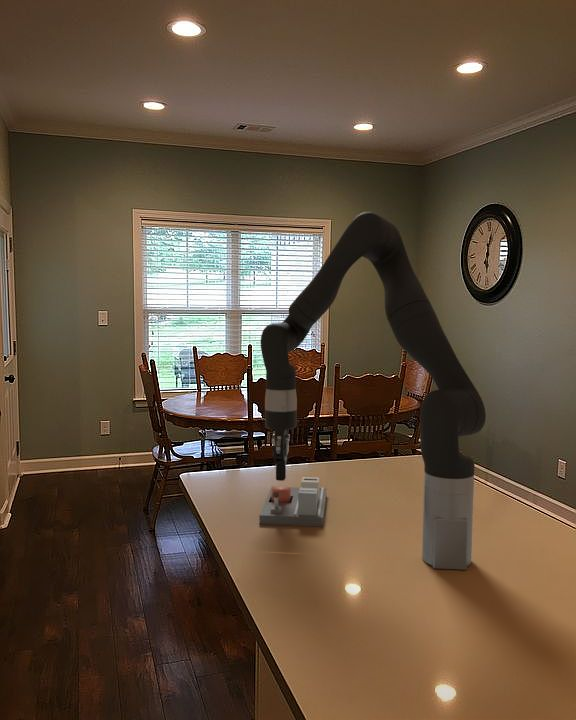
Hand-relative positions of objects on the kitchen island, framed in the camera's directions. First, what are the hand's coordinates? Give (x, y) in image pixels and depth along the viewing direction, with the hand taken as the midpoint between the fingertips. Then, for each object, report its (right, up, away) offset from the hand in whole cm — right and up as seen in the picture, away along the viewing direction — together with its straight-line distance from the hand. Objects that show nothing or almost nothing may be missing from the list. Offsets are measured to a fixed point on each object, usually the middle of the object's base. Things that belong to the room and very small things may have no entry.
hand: (280, 479), depth 153 cm
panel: (+3, -7, 0) cm, 8 cm away
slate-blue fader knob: (+6, -6, -9) cm, 12 cm away
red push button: (0, -6, +1) cm, 6 cm away
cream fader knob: (+7, -5, 0) cm, 8 cm away
